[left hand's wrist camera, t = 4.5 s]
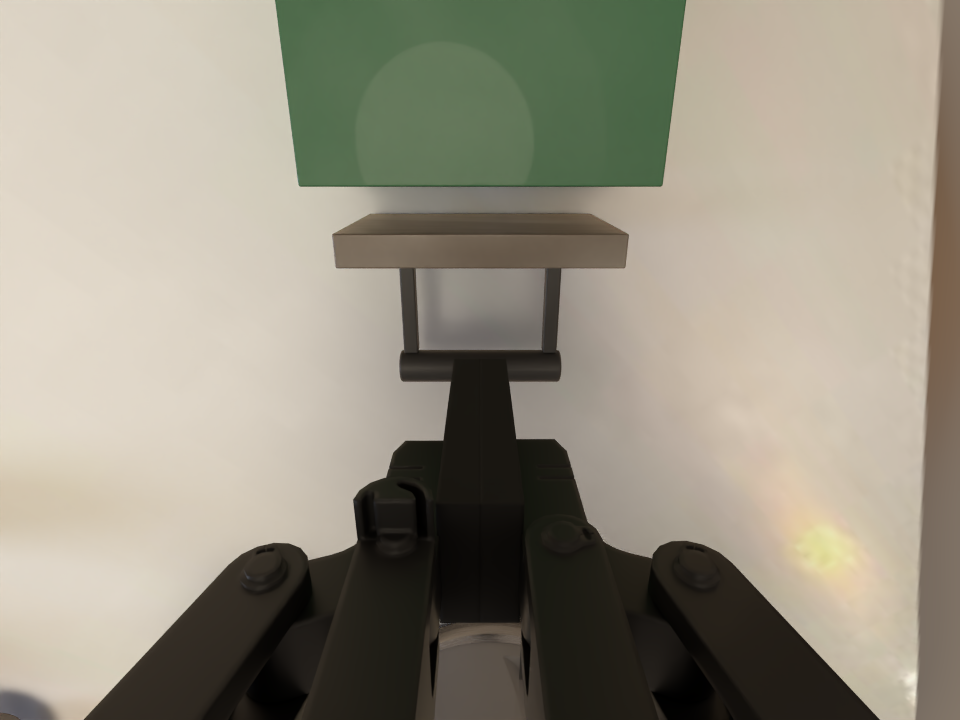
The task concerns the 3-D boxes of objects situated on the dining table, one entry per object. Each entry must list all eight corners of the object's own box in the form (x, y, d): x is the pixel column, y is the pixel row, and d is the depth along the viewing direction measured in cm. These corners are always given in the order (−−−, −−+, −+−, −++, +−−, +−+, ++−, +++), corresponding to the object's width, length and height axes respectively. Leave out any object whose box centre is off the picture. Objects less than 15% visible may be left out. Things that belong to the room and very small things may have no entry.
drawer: (580, 354, 26) (609, 414, 20) (380, 355, 26) (351, 414, 20) (636, -363, 17) (724, -651, 11) (323, -363, 17) (236, -652, 11)
